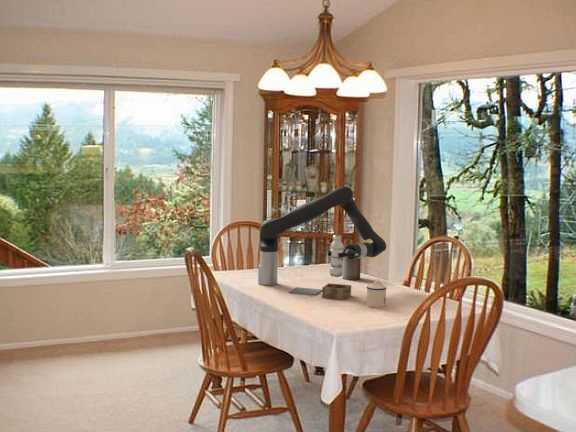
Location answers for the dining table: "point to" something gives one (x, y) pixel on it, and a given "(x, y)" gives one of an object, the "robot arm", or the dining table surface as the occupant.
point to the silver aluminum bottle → (336, 257)
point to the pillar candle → (351, 269)
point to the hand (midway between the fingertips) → (333, 254)
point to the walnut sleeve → (336, 291)
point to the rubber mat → (305, 291)
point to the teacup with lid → (376, 295)
